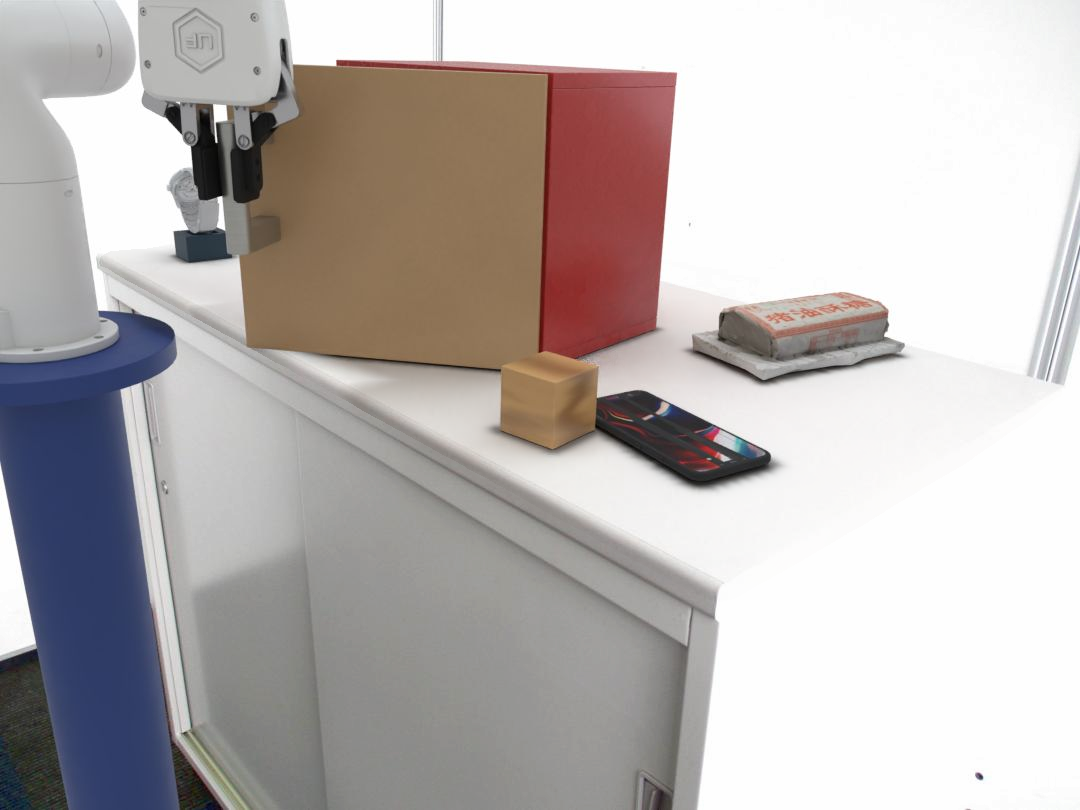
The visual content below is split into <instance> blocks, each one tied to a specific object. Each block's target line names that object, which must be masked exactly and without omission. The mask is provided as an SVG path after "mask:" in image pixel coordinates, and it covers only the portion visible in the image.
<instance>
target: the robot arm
mask: <svg viewBox="0 0 1080 810" xmlns="http://www.w3.org/2000/svg"><path fill="white" fill-rule="evenodd" d="M129 24H130V23H129V21H128V19H127V18H126V15H125V13H124V12H123V10H122V8H121V7H120V6H119V4H118V2H117V1H116V0H0V363H13V364H22V363H44V362H53V361H60V360H66V359H72V358H77V357H81V356H85V355H89V354H92V353H96V352H98V351H101V350H103V349H106V348H108V347H109V346H111V345H113V344H114V343H115V342H116V341H117V340H118V338H119V329H118V326H117V324H116V323H114V322H113V321H111V320H109V319H106V318H102V317H99V312H98V311H99V306H98V299H97V292H96V286H95V278H94V271H93V264H92V258H91V257H92V256H91V251H90V244H89V238H88V237H89V236H88V230H87V224H86V223H87V222H86V217H85V210H84V203H83V196H82V190H81V183H80V177H79V170H78V164H77V159H76V158H77V157H76V154H75V151H74V148H73V145H72V143H71V140H70V139H69V136H68V135H67V133H66V132H65V130H64V129H63V127H62V126H61V124H60V123H59V122H58V120H57V119H56V118H55V117H54V115H53V114H52V113H51V111H50V110H49V108H48V107H47V106H46V104H45V103H44V101H43V100H48V99H67V98H68V99H69V98H86V97H98V96H99V97H100V96H105V95H109V94H112V93H115V92H117V91H118V90H121V89H122V88H123V87H125V86H126V85H127V84H128V82H129V81H130V80H131V79H132V77H133V74H134V72H135V68H136V63H137V49H136V43H135V38H134V35H133V32H132V29H131V27H130V25H129ZM290 33H291V31H290V24H289V19H288V12H287V6H286V1H285V0H137V37H138V39H137V40H138V59H139V70H140V79H141V84H142V87H143V93H142V96H141V104H142V106H143V107H144V108H145V109H147V110H149V111H150V112H152V113H154V114H156V115H158V116H160V117H161V118H165V119H167V121H168V122H169V123H170V124H171V126H173V127H174V129H176V130H177V132H178V133H179V134H180V135H181V136H182V141H183V143H184V144H185V145H186V146H188V147H190V154H191V156H190V157H191V167H193V179H194V184H195V186H196V187H197V188H198V198H199V200H204V201H208V200H211V199H214V198H220V197H221V198H222V189H221V178H220V167H219V156H218V145H217V139H216V125H215V111H214V105H216V106H217V105H218V106H226V105H233V112H234V123H235V134H236V149H231V152H230V161H231V174H232V188H233V199H234V201H236V203H242V204H244V203H247V202H250V201H253V200H256V199H258V198H259V197H260V191H261V190H262V187H263V172H262V156H261V146H264V145H265V144H266V143H267V139H268V138H269V137H270V136H271V135H272V134H273V133H274V132H275V131H276V129H277V128H278V127H279V126H281V125H283V124H286V123H288V122H291V121H293V120H295V119H298V118H300V117H302V116H303V115H304V114H305V108H304V106H303V103H302V101H301V99H300V97H299V94H298V92H297V90H296V87H295V85H294V83H293V64H294V62H293V50H292V41H291V34H290ZM264 103H277V106H276V107H275V108H273V109H271V110H269V111H267V112H265V104H264Z"/></svg>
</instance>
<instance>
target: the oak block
mask: <svg viewBox="0 0 1080 810" xmlns="http://www.w3.org/2000/svg"><path fill="white" fill-rule="evenodd" d="M599 370H600V369H599V366H598V365H596V364H592V363H589V362H585V361H582V360H579V359H576V358H574V359H572V358H568V357H565V356H561V355H558V354H554V353H551V352H548V351H544V352H541V353H538V354H535V355H532V356H529V357H526V358H524V359H521V360H518V361H515V362H512V363H509V364H506V365H503V366H501V369H500V408H499V409H500V413H499V415H500V417H499V431H501V432H503V433H506V434H509V435H512V436H515V437H517V438H520V439H523V440H526V441H528V442H531V443H533V444H536V445H539V446H542V447H544V448H546V449H547V448H548V449H550V450H555V449H556V448H559V447H561V446H563V445H566V444H567V443H570V442H572V441H575V440H576V439H578V438H580V437H583V436H585V435H587V434H589V433H592V432H593V431H595V430H596V424H595V420H596V404H597V398H598V387H599V386H598V383H599Z"/></svg>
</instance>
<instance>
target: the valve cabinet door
mask: <svg viewBox="0 0 1080 810" xmlns="http://www.w3.org/2000/svg"><path fill="white" fill-rule="evenodd" d="M293 83H294V85H295V87H296V90H297V92H298V94H299V97H300V99H301V101H302V103H303V106H304V108H305V114H304V115H303V116H302V117H300V118H298V119H295V120H293V121H291V122H288V123H286V124H283V125H281V126H279V127H278V128H277V129H276V131H275V132H274V133H273V134H272V135H271V136H270V137H269V138H268V139H267V143H266V144H265V145H264V146H261V156H262V172H263V187H262V190H261V191H260V197H259V198H258V199H256V200H253V201H250V202H247V203H244V204H242V203H236V201H234V199H233V188H232V174H231V161H230V152H231V149H236V134H235V123H234V112H233V105H225V107H226V118H227V120H221V121H215V135H216V143H217V145H218V156H219V167H220V178H221V189H222V196H221V199H222V211H223V220H224V230H225V233H226V244H227V253H228V254H231V255H232V256H238V259H239V271H240V281H241V292H242V293H241V294H242V304H243V315H244V316H243V317H244V327H245V339H246V347H247V348H250V349H251V348H252V349H262V350H271V351H272V350H274V351H285V352H296V353H309V354H318V355H319V354H320V355H331V356H341V357H353V358H364V359H365V358H366V359H377V360H388V361H400V362H410V363H411V362H412V363H422V364H423V363H424V364H434V365H445V366H447V365H448V366H455V367H456V366H458V367H469V368H480V369H492V370H501V366H503V365H506V364H509V363H512V362H515V361H518V360H521V359H524V358H526V357H529V356H532V355H535V354H538V353H539V324H540V295H541V266H542V236H543V207H544V178H545V149H546V119H547V90H548V75H547V74H523V73H499V72H474V71H449V70H424V69H399V68H375V67H350V66H336V65H322V64H299V63H297V64H296V63H295V64H294V63H293ZM264 104H265V112H267V111H269V110H271V109H273V108H275V107H276V106H277V103H264Z"/></svg>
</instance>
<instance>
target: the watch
mask: <svg viewBox="0 0 1080 810" xmlns="http://www.w3.org/2000/svg"><path fill="white" fill-rule="evenodd" d="M166 190H167V192H170V194H171V195H172V197H173V200H174V203H175V205H176V208H177V209H179V211H180V214H181V217H182V219H183V223H184V224H185V227H186V228H187V229H181V230H173V241H174V248H175V250H174V251H175V257H177V258H179V259H181V260H183V261H185V262H187V263H196V262H203V261H212V260H213V261H214V260H221V259H230V258H231V259H232V258H233V255H231V254H228V253H227V244H226V233H225V229H222V228H220V227H218V223H219V221H220V219H219V215H220V203H219V199H218V198H219V197H217V198H214V199H211V200H208V201H204V200H199V198H198V188H197V187H196V186H195V184H194V179H193V167H192V166H188V167H182V168H180V169H179V170H178V171H176V172H175V173H174V174H173V175H172V176H171V177H170V179H169V181H168V184H166Z"/></svg>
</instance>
